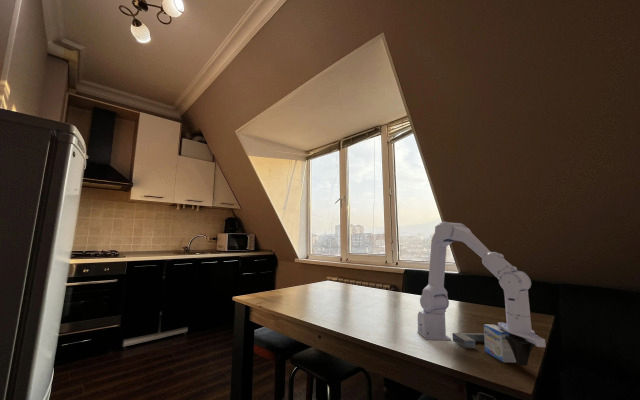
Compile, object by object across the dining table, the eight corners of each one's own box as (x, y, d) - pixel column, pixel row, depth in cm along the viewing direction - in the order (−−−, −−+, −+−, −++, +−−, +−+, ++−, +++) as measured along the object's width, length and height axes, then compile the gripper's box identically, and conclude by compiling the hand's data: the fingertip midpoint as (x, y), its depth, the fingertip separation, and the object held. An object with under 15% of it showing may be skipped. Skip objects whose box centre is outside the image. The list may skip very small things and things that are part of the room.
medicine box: (484, 351, 86) (482, 323, 87) (497, 351, 86) (495, 324, 88) (503, 363, 78) (500, 332, 80) (517, 362, 79) (514, 332, 80)
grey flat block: (464, 348, 88) (464, 340, 89) (452, 340, 95) (452, 333, 96) (506, 348, 89) (506, 340, 89) (492, 340, 96) (491, 333, 97)
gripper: (554, 321, 69) (560, 377, 67) (511, 308, 84) (515, 353, 81) (528, 321, 69) (533, 377, 67) (490, 307, 83) (493, 353, 81)
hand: (521, 364), depth 74 cm, fingers closed
